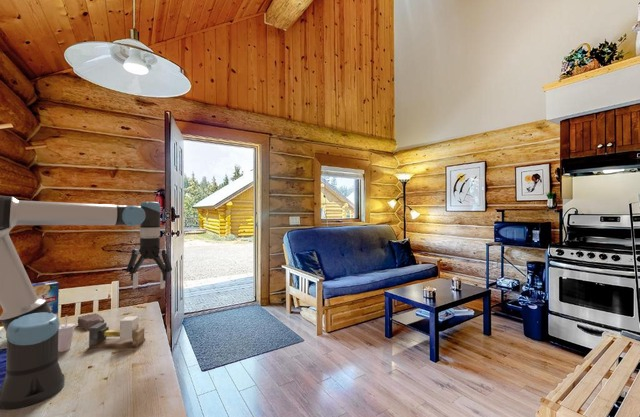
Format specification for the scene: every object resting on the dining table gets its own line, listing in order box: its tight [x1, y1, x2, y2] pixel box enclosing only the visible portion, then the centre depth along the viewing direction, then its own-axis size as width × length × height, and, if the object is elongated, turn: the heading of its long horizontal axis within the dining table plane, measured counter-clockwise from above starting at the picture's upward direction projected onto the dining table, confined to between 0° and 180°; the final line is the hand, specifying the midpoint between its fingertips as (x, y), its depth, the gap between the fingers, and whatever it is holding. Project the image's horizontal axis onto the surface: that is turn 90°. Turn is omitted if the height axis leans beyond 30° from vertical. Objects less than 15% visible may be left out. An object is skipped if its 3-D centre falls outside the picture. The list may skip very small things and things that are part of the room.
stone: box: [77, 313, 105, 331], centre depth 145 cm, size 9×12×5 cm
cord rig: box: [88, 322, 146, 349], centre depth 126 cm, size 20×7×8 cm, turn 93°
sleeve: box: [119, 315, 140, 339], centre depth 126 cm, size 5×5×8 cm
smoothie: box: [58, 314, 76, 353], centre depth 120 cm, size 6×6×14 cm
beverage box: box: [31, 280, 60, 317], centre depth 138 cm, size 7×11×22 cm, turn 146°
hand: (149, 288), depth 127 cm, fingers open, 11 cm apart
